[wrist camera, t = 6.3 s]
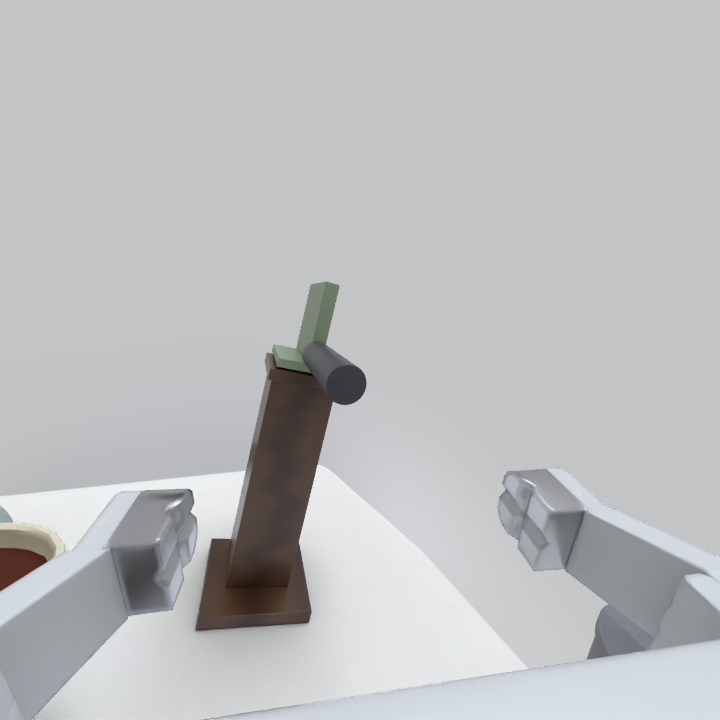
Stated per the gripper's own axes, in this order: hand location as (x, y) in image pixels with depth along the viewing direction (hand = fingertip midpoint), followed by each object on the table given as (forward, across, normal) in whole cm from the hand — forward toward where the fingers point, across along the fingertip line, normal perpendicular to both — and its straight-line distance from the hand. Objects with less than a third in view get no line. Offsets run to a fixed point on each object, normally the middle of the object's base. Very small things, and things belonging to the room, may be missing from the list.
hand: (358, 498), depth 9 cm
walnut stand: (+20, -7, -28) cm, 35 cm away
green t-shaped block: (+19, -1, -4) cm, 19 cm away
